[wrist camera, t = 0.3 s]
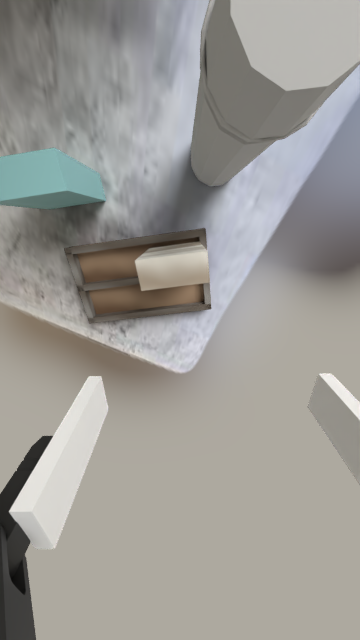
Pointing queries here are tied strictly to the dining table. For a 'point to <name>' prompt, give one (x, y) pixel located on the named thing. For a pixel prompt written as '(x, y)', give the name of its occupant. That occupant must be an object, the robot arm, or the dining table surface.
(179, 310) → the track base
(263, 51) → the water bottle
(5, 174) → the teal door
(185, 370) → the dining table surface
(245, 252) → the dining table surface
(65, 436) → the robot arm
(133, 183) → the dining table surface
